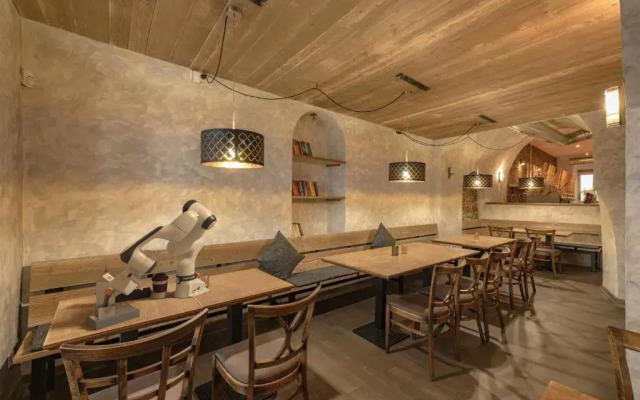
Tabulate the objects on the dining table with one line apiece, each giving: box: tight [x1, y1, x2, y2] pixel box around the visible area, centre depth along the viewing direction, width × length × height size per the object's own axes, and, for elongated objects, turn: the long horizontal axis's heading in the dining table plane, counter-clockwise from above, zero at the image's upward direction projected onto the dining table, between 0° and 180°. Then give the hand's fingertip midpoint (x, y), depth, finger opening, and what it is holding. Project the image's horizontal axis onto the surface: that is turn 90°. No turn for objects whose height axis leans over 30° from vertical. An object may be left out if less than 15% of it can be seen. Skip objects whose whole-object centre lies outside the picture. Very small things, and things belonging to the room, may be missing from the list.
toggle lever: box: [102, 288, 113, 308], centre depth 155 cm, size 3×3×12 cm
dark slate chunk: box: [114, 286, 153, 304], centre depth 193 cm, size 15×22×5 cm
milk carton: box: [95, 272, 115, 306], centre depth 179 cm, size 7×7×19 cm
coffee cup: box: [150, 273, 170, 300], centre depth 193 cm, size 10×10×15 cm
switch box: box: [85, 302, 141, 331], centre depth 158 cm, size 20×14×9 cm
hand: (110, 298), depth 156 cm, fingers closed, pressing on toggle lever
